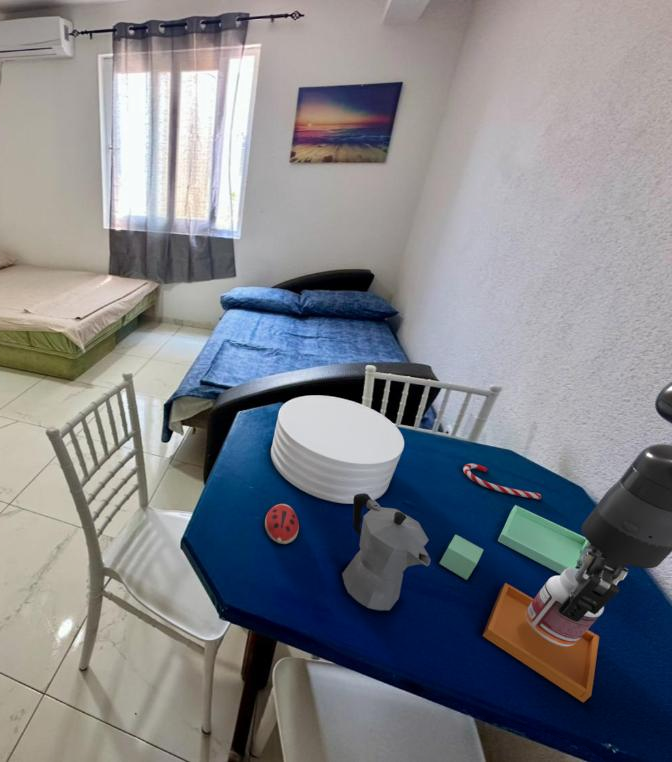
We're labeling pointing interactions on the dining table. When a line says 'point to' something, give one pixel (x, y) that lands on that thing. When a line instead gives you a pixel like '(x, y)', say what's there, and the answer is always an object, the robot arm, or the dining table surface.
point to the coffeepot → (382, 553)
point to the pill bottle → (547, 615)
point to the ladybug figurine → (282, 524)
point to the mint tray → (542, 540)
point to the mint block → (461, 557)
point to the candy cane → (493, 486)
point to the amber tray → (542, 645)
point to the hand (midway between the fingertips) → (570, 600)
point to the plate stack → (335, 448)
